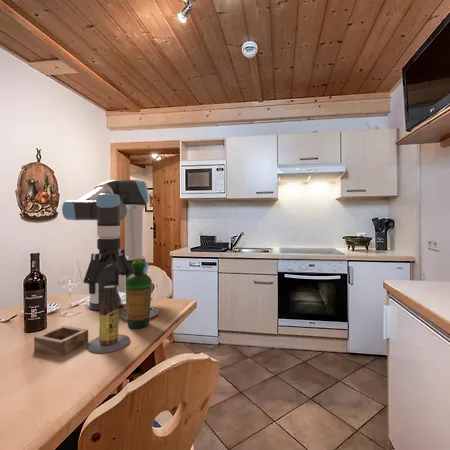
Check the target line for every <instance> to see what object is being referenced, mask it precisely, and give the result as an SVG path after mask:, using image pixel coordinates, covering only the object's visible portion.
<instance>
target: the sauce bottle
mask: <svg viewBox="0 0 450 450" xmlns="http://www.w3.org/2000/svg"><path fill="white" fill-rule="evenodd" d="M115 290H116V286H105V287H104V301H103V302H102V304H101V306H100V310H99V326H98V327H99V332H98V333H99V334H98V335H99V336H98V337H99V339H100V344H101V345H106V346H107V345H112V344H114V343H116V342H117V340H118V334H119V322H120V321H119V317H120V316H119V313H120V311H119V309H120V308H119V307H118V305H117V302H116V299H115Z"/></svg>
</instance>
